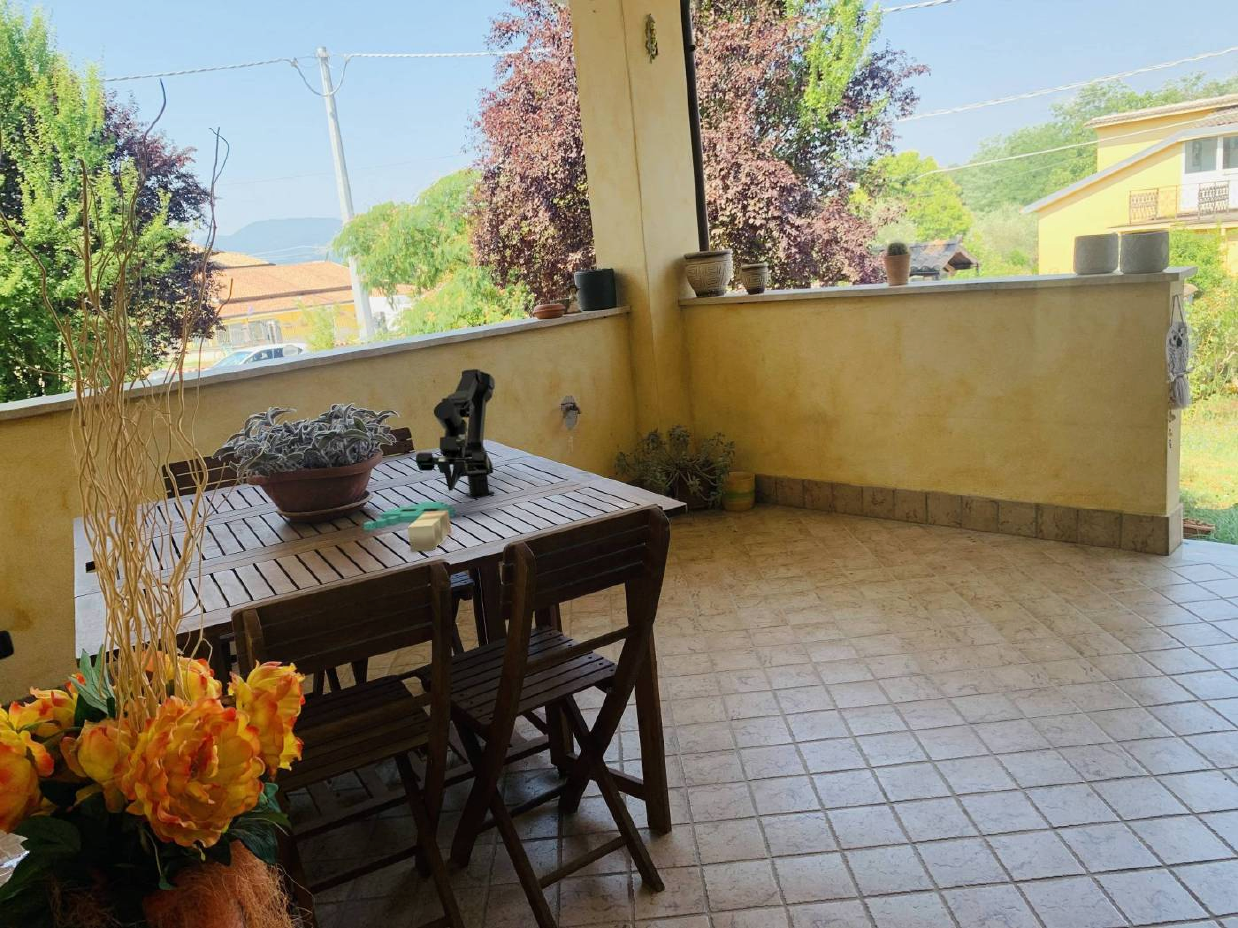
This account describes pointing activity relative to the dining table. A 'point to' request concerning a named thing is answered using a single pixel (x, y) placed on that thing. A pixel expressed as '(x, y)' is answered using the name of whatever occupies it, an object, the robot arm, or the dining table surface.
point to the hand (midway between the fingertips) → (450, 490)
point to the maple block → (429, 530)
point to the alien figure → (407, 514)
